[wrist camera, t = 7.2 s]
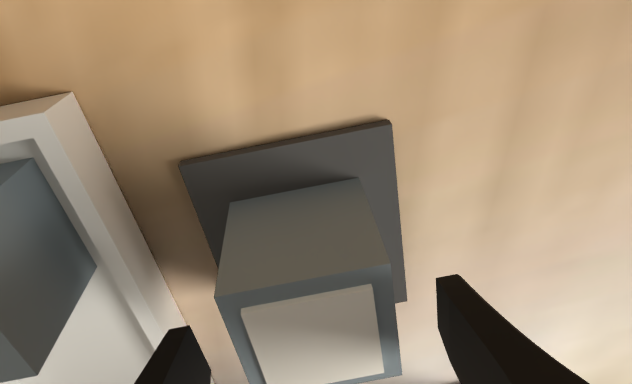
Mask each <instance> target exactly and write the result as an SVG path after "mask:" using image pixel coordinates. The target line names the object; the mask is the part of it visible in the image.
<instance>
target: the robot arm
mask: <svg viewBox="0 0 632 384" xmlns="http://www.w3.org/2000/svg"><path fill="white" fill-rule="evenodd" d="M436 291H437V317H438V329H439V332H440V335H441V338H442V340H443V343H444V346H445V349H446V352H447V354H448V357H449V360H450V362H451V364H452V367H453V369H454V371H455V373H456V375H457V377H458V379H459V381H460V383H461V384H589V383H588V382H586V381H585V380H584V379H582V378H581V377H579V376H578V375H576V374H575V373H573V372H572V371H571V370H569V369H568V368H566V367H565V366H564V365H562V364H561V363H559V362H558V361H557V360H555V359H554V358H553V357H551V356H550V355H549V354H547V353H546V352H545V351H544V350H542V349H541V348H540V347H539V346H537V345H536V344H535V343H533V342H532V341H531V340H530V339H529V338H527V337H526V336H525V335H524V334H522V333H521V332H520V331H519V330H518V329H517V328H515V327H514V326H513V325H512V324H511V323H510V322H508V321H507V320H506V319H505V318H504V317H503V316H502V315H500V314H499V313H498V312H497V311H496V310H495V309H494V308H493V307H492V306H491V305H490V304H488V303H487V302H486V301H485V300H484V299H483V298H482V297H481V296H480V295H479V294H478V293H477V292H476V291H475V290H474V289H473V288H472V287H471V286H470V285H469V284H468V283H467V282H466V281H465V280H464V279H463V278H462V277H461V276H459V275H458V274H455V275H450V276H444V277H439V278H436ZM210 383H211V369H210V367H209V365H208V363H207V361H206V359H205V357H204V355H203V352H202V350H201V348H200V346H199V344H198V342H197V340H196V338H195V336H194V334H193V332H192V329H191V327H190V325H189V326H183V327H178V328H173V329H169V330H168V331H167V333H166V334H165V336H164V337H163V339H162V340H161V342H160V344H159V345H158V347H157V348H156V350H155V351H154V353H153V355H152V356H151V358H150V359H149V361H148V363H147V364H146V366H145V367H144V369H143V370H142V372H141V373H140V375H139V377H138V378H137V380H136V381H135V383H134V384H210Z"/></svg>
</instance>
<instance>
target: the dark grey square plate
mask: <svg viewBox="0 0 632 384" xmlns="http://www.w3.org/2000/svg"><path fill="white" fill-rule="evenodd" d="M178 167H179V170H180V172H181V175H182V177H183V180H184V182H185V185H186V187H187V190H188V193H189V195H190V198H191V200H192V203H193V205H194V208H195V210H196V213H197V216H198V218H199V221H200V223H201V226H202V228H203V231H204V233H205V236H206V239H207V241H208V244H209V246H210V249H211V251H212V254H213V256H214V259H215V262H216V264H217V267H218V269H219V264H220V258H221V252H222V246H223V240H224V235H225V229H226V223H227V217H228V211H229V205H230V202H235V201H241V200H246V199H251V198H256V197H261V196H266V195H272V194H277V193H282V192H287V191H292V190H297V189H302V188H308V187H313V186H318V185H323V184H328V183H333V182H339V181H344V180H349V179H354V178H359V179H360V182H361V184H362V187H363V190H364V192H365V195H366V198H367V201H368V203H369V206H370V209H371V211H372V214H373V217H374V220H375V222H376V225H377V228H378V230H379V233H380V236H381V239H382V241H383V244H384V247H385V249H386V252H387V255H388V258H389V260H390V263H391V272H392V281H393V291H394V301H395V303H400V302H405V301H407V293H406V281H405V270H404V258H403V247H402V235H401V224H400V213H399V201H398V190H397V178H396V167H395V155H394V144H393V132H392V124H391V122H390V121H389V120H385V121H380V122H375V123H370V124H365V125H360V126H355V127H350V128H345V129H340V130H335V131H330V132H325V133H319V134H314V135H309V136H304V137H299V138H294V139H289V140H284V141H279V142H274V143H269V144H264V145H259V146H254V147H249V148H244V149H239V150H234V151H229V152H224V153H219V154H214V155H209V156H204V157H199V158H194V159H189V160H184V161H181V162H180V164H179V166H178Z"/></svg>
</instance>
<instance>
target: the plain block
mask: <svg viewBox="0 0 632 384" xmlns="http://www.w3.org/2000/svg"><path fill="white" fill-rule="evenodd" d="M96 268H97V265H96V263H95V262H94V260H93V258H92V257H91V255H90V253H89V251H88V250H87V248H86V246H85V245H84V243H83V241H82V240H81V238H80V236H79V234H78V233H77V231H76V229H75V228H74V226H73V224H72V222H71V221H70V219H69V217H68V216H67V214H66V212H65V211H64V209H63V207H62V205H61V204H60V202H59V200H58V199H57V197H56V195H55V194H54V192H53V190H52V188H51V187H50V185H49V183H48V182H47V180H46V178H45V176H44V175H43V173H42V171H41V170H40V168H39V166H38V165H37V163H36V161H35V159H34V158H33V157H32V158H27V159H22V160H17V161H12V162H7V163H2V164H0V383H2V382H7V381H13V380H18V379H23V378H28V377H33V376H38V374H39V372H40V370H41V368H42V367H43V365H44V363H45V361H46V359H47V358H48V356H49V354H50V352H51V350H52V348H53V347H54V345H55V343H56V341H57V339H58V338H59V336H60V334H61V332H62V330H63V328H64V327H65V325H66V323H67V321H68V319H69V318H70V316H71V314H72V312H73V310H74V308H75V307H76V305H77V303H78V301H79V299H80V297H81V296H82V294H83V292H84V290H85V288H86V287H87V285H88V283H89V281H90V279H91V277H92V276H93V274H94V272H95V270H96Z"/></svg>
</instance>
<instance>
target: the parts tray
mask: <svg viewBox="0 0 632 384" xmlns="http://www.w3.org/2000/svg"><path fill="white" fill-rule="evenodd" d="M32 157H33V158H34V159H35V161H36V163H37V165H38V166H39V168H40V170H41V171H42V173H43V175H44V176H45V178H46V180H47V182H48V183H49V185H50V187H51V188H52V190H53V192H54V194H55V195H56V197H57V199H58V200H59V202H60V204H61V205H62V207H63V209H64V211H65V212H66V214H67V216H68V217H69V219H70V221H71V222H72V224H73V226H74V228H75V229H76V231H77V233H78V234H79V236H80V238H81V240H82V241H83V243H84V245H85V246H86V248H87V250H88V251H89V253H90V255H91V257H92V258H93V260H94V262H95V263H96V265H97V268H96V270H95V272H94V274H93V276H92V277H91V279H90V281H89V283H88V285H87V287H86V288H85V290H84V292H83V294H82V296H81V297H80V299H79V301H78V303H77V305H76V307H75V308H74V310H73V312H72V314H71V316H70V318H69V319H68V321H67V323H66V325H65V327H64V328H63V330H62V332H61V334H60V336H59V338H58V339H57V341H56V343H55V345H54V347H53V348H52V350H51V352H50V354H49V356H48V358H47V359H46V361H45V363H44V365H43V367H42V368H41V370H40V372H39V374H38V376H33V377H28V378H23V379H18V380H13V381H7V382H2V383H0V384H134V383H135V381H136V380H137V378H138V377H139V375H140V373H141V372H142V370H143V369H144V367H145V366H146V364H147V363H148V361H149V359H150V358H151V356H152V355H153V353H154V351H155V350H156V348H157V347H158V345H159V344H160V342H161V340H162V339H163V337H164V336H165V334H166V333H167V331H168V330H169V329H173V328H178V327H183V326H187V325H186V323H185V321H184V319H183V317H182V315H181V313H180V311H179V309H178V307H177V305H176V303H175V301H174V299H173V297H172V294H171V292H170V290H169V288H168V286H167V284H166V282H165V280H164V278H163V276H162V274H161V272H160V270H159V268H158V266H157V264H156V262H155V260H154V258H153V256H152V254H151V251H150V249H149V247H148V245H147V243H146V241H145V239H144V237H143V235H142V233H141V231H140V229H139V227H138V225H137V223H136V221H135V219H134V217H133V215H132V213H131V210H130V208H129V206H128V204H127V202H126V200H125V198H124V196H123V194H122V192H121V190H120V188H119V186H118V184H117V182H116V180H115V178H114V176H113V174H112V172H111V170H110V167H109V165H108V163H107V161H106V159H105V157H104V155H103V153H102V151H101V149H100V147H99V145H98V143H97V141H96V139H95V137H94V135H93V133H92V131H91V129H90V127H89V124H88V122H87V120H86V118H85V116H84V114H83V112H82V110H81V108H80V106H79V104H78V102H77V100H76V98H75V96H74V94H73V92H69V93H64V94H59V95H54V96H49V97H44V98H39V99H34V100H29V101H24V102H19V103H14V104H9V105H4V106H0V164H2V163H7V162H12V161H17V160H22V159H27V158H32ZM210 384H215V383H214V381H213V378H212V376H211V383H210Z"/></svg>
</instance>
